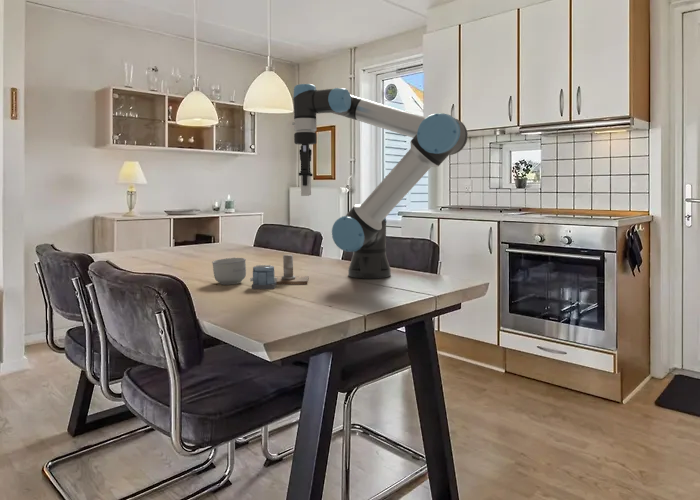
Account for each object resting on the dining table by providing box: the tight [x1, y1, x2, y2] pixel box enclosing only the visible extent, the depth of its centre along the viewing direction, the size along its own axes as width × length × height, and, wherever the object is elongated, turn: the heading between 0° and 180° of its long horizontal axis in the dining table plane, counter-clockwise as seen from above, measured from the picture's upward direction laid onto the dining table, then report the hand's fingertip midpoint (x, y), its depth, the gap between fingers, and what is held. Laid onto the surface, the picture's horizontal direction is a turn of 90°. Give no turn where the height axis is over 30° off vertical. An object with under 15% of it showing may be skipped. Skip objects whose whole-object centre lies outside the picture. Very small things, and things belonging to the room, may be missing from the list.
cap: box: [249, 264, 277, 285], centre depth 171 cm, size 8×7×6 cm
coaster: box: [251, 281, 278, 290], centre depth 171 cm, size 7×7×1 cm
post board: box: [275, 254, 309, 286], centre depth 179 cm, size 13×10×9 cm
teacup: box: [211, 257, 247, 286], centre depth 179 cm, size 14×11×8 cm
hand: (306, 195), depth 183 cm, fingers open, 13 cm apart
